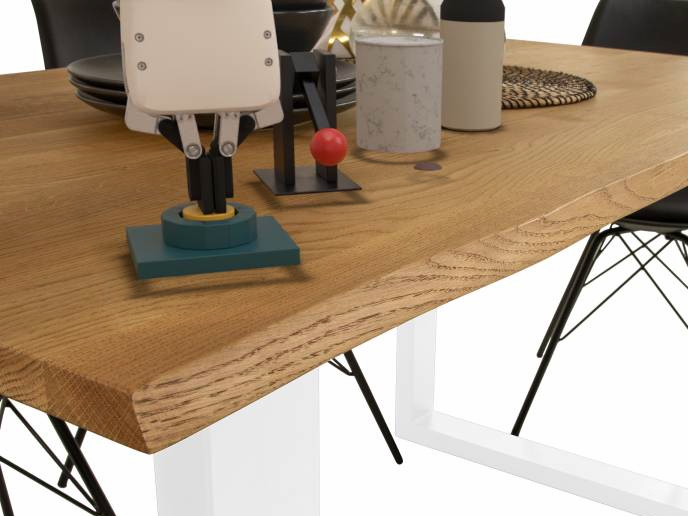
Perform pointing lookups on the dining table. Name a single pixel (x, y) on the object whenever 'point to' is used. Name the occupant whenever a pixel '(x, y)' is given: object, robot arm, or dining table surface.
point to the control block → (209, 244)
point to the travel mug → (472, 63)
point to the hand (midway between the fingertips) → (211, 208)
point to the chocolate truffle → (427, 166)
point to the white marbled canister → (398, 93)
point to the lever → (317, 111)
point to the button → (196, 214)
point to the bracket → (284, 172)
